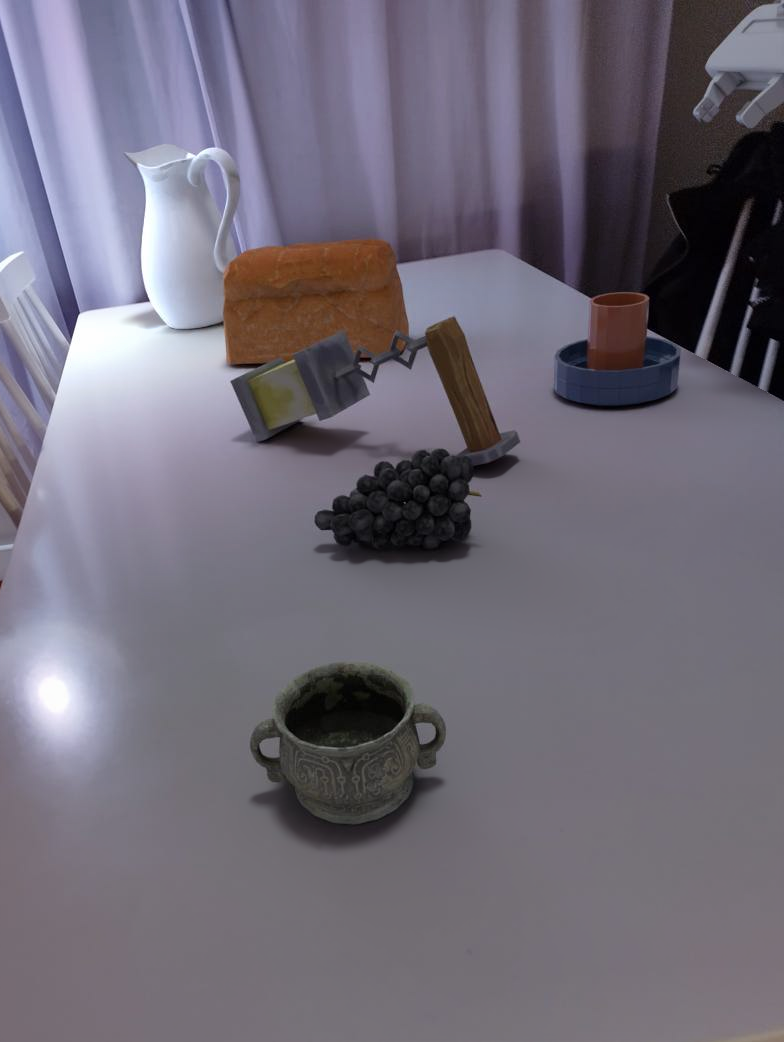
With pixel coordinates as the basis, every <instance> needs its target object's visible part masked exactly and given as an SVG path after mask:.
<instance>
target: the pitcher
mask: <svg viewBox="0 0 784 1042" xmlns="http://www.w3.org/2000/svg"><path fill="white" fill-rule="evenodd" d="M123 155H124V156H125V158H126V159H127V160H128V161H129V162H130V163H131V165H132V166H133V167H134V168H135V169H136V171H137V172H138V174H139V176H140V178H141V181H142V184H143V188H144V189H143V191H144V208H143V214H142V222H141V228H140V229H141V230H140V236H139V248H138V249H139V250H138V251H139V253H138V254H139V255H138V256H139V269H140V276H141V280H142V284H143V287H144V290H145V293H146V296H147V298H148V300H149V302H150V303H151V305H152V306H153V308H154V310H155V312H156V313H157V314H158V316H159V317H160V318H161V320H162V321H163V322H164V323H165V324H166V325H167V326H168V327H170V328H172V329H174V330H175V329H176V330H190V329H193V330H194V329H200V328H205V327H210V326H214V325H218V324H220V323H222V322H223V323H224V321H223V307H224V299H225V297H224V296H223V283H224V281H223V273H224V271H225V270H226V268H227V266H228V265H229V263H230V262H231V261H233V260H234V259H235V258H237V257H238V256H239V255H238V253H237V249H236V245H235V242H234V239H233V237H232V233H231V232H230V230H231V226H232V223H233V220H234V218H235V215H236V212H237V209H238V205H239V201H240V196H241V178H240V172H239V170H238V167H237V165H236V162H235V160H234V159H233V158H232V156H231V155H230V153H228V152H227V151H226V150H224V149H223V148H220V147H208V148H206V149H203V150H201V151H200V152H199V153H198V154H197V155H195V154H193V153H191V152H189V151H187V150H185V149H183V148H181V147H179V146H177V145H175V144H171V143H163V144H159V145H155V146H153V147H150V148H147V149H144V150H141V151H137V152H127V151H123ZM211 160H212V161H214V162H215V163H217V165H218V166H219V167H220V169H221V171H222V173H223V175H224V178H225V183H226V202H225V207H224V211H223V215H222V213H221V211H220V210H219V208H218V206H217V204H216V202H215V200H214V198H213V196H212V194H211V192H210V189H209V186H208V184H207V179H206V176H205V170H206V167H207V165H208V164H209V162H210V161H211Z"/></svg>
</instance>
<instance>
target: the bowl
mask: <svg viewBox="0 0 784 1042" xmlns="http://www.w3.org/2000/svg"><path fill="white" fill-rule="evenodd" d="M587 345H588V338H586V339H580V340H577V341H574V342H571V343H569V344H565V345H564V346H562V347H561V348H559V349H558V350H556V353H555V355H554V361H553V363H554V366H553V389H554V390H555V393H556V394H557V395H559V396H560V397H562V398H564V399H565V400H569V401H572V402H576V403H581V404H583V405H584V404H585V405H590V406H598V407H623V406H632V405H633V406H634V405H638V404H639V405H640V404H643V403H647V402H651V401H655V400H658V399H662V398H663V397H667V396H668V395H671V394H672V393H673V392H674V391H675V390H677V388H678V385H679V375H680V365H681V355H682V348H681V347H680V346H679V345H677V343H675V342H673V341H669V340H667V339H665V338H659V337H655V336H648V335H647V337H646V351H645V364H644V367H643V368H636V369H626V370H594V369H587Z"/></svg>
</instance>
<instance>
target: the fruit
mask: <svg viewBox="0 0 784 1042" xmlns="http://www.w3.org/2000/svg"><path fill="white" fill-rule="evenodd" d="M473 478H474V466H473V463H472V459H470V458H469V457H467V456H466V455H460V456H458V457H456V455H450V453H449V452H448V450H446V449H444V448H436V449H434V450H432V452H431V453H430V452H429V451H428V450H426V449H420V450H417V451H415V453H414V454H413V455H412V456H411V460H410V459H403V460H401V461H400V462H398V463H396V466H395V467H394V465H393V464H392V463H390V462H389V461H384V460H381V461H379V462H377V464H375V466H374V469H373V475H368V474H363V475H362V476H359V477H358V479H357V481H356V487H355V488H354V489H353V490H351V491H350V493H349V496H347V495H346V494H345V495H343V494H342V495H337V496H336V497H335V498H333V500H332V505H331V509H332V510H331V509H321V510H319V511H317V512H316V514H315V515H314V525H315V527H317V528H318V529H319V530H320V531H332V533H333V539H334V541H335V543H336V544H338V545H340V546H343V547H347V546H350V545H352V543H353V542H354V543H355V544H358V545H359V544H360V545H364V544H366V543H367V542H370V541H371V543H372V546H373V548H375V549H376V550H381V551H383V550H386V549H387V548H388V547H389V546H390V544H391V542H392V544H393V545H395V546H396V547H403V546H405V545H409V546H414V547H415V546H420V545H422V547H424V548H425V549H427V550H434V549H438V547H439V545H440V544H441V542H447V541H448V540H450V539H452V540H453V541H455V542H463V541H464V540H467V539H468V538H469V536H470V533H471V530H472V520H471V514H472V513H471V512H472V510H471V507H470V506H469V504H468V503H467V502H466V501H465V500H466V498H467V497H468V496H472V497H473V496H474V497H480V498H481V497H483V496H482V494H480V492H477V491H472V490H470V484H469V483H470V482H471V481H472V479H473Z"/></svg>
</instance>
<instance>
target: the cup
mask: <svg viewBox="0 0 784 1042" xmlns="http://www.w3.org/2000/svg"><path fill="white" fill-rule="evenodd" d="M649 308H650V297H649V295H647V294H645V293H640V292H631V291H621V292H620V291H617V292H610V293H609V292H608V293H604V294H603V293H602V294H599V295H596V296H594V297H591V298H590V299H589V302H588V322H587V339H588V345H587V369H594V370H626V369H636V368H643V367H644V364H645V351H646V337H647V336H648V323H649V312H650V311H649V310H650V309H649Z"/></svg>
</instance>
